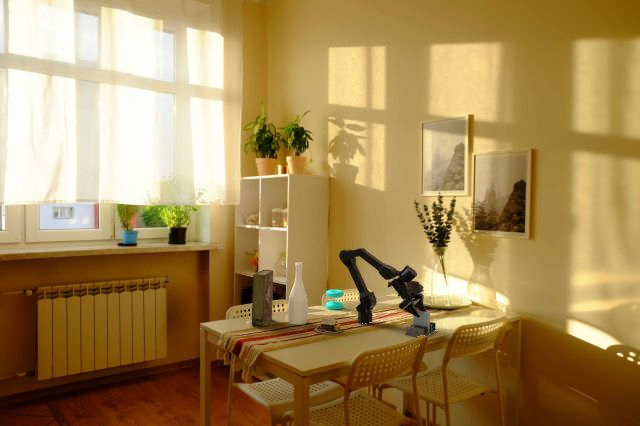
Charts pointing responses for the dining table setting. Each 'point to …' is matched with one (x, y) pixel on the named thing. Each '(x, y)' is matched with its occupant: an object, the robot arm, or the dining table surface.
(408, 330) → the dish rack
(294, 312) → the wine bottle
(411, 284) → the coffee cup
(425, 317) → the tall grey-blue box
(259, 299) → the book
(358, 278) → the robot arm
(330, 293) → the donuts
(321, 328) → the toy sandwich meal
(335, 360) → the dining table surface
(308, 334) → the dining table surface
